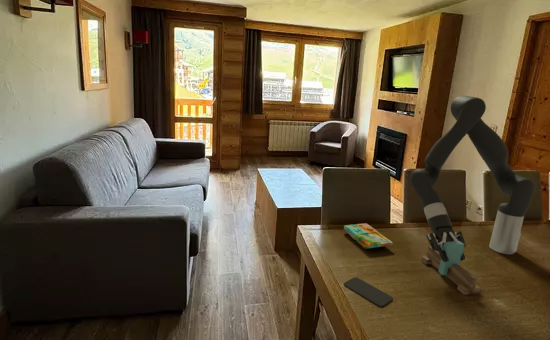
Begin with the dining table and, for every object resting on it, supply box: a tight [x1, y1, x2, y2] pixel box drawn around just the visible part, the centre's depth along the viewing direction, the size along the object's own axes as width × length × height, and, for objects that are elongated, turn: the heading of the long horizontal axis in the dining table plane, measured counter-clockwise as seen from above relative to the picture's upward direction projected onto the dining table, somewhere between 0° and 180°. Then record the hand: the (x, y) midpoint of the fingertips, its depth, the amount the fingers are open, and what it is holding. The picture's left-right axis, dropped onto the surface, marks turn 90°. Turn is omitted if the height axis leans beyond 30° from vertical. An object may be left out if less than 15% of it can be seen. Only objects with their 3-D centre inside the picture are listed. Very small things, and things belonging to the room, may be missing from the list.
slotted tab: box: [437, 241, 465, 276], centre depth 118 cm, size 6×2×12 cm, turn 103°
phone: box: [343, 277, 394, 308], centre depth 108 cm, size 7×1×15 cm
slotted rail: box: [420, 245, 481, 296], centre depth 119 cm, size 6×22×6 cm, turn 14°
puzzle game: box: [343, 222, 394, 249], centre depth 143 cm, size 12×5×20 cm
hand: (454, 260), depth 117 cm, fingers closed on slotted tab, 6 cm apart
